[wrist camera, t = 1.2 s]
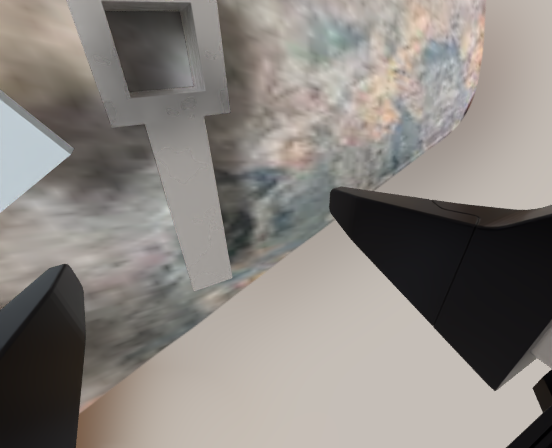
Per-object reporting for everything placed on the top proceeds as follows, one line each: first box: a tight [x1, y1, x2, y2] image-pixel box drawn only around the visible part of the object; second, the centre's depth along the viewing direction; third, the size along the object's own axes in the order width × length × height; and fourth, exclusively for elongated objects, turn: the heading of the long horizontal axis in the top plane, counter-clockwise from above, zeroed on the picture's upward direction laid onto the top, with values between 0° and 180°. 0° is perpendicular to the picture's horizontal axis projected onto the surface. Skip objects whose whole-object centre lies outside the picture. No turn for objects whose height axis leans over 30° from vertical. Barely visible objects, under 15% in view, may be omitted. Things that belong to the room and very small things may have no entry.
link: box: [66, 0, 232, 291], centre depth 17 cm, size 18×6×3 cm, turn 2°
